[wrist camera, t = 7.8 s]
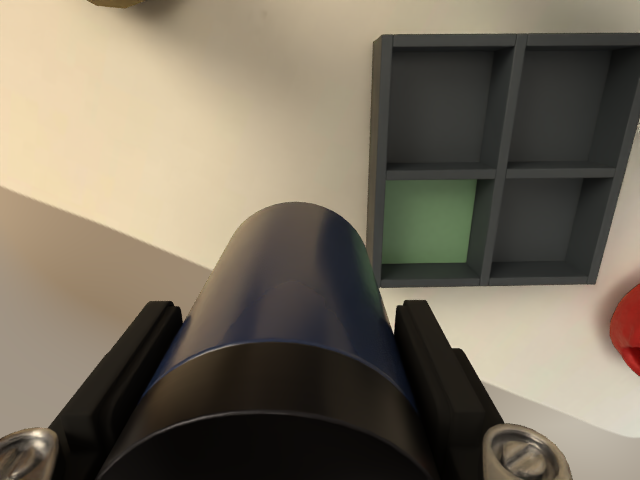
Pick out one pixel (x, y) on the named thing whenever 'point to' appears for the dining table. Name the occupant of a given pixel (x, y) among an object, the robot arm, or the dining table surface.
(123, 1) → the squeeze bottle
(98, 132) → the dining table surface
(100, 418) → the robot arm
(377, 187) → the tray
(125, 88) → the dining table surface
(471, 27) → the dining table surface
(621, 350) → the red hollow tomato
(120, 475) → the thermos
